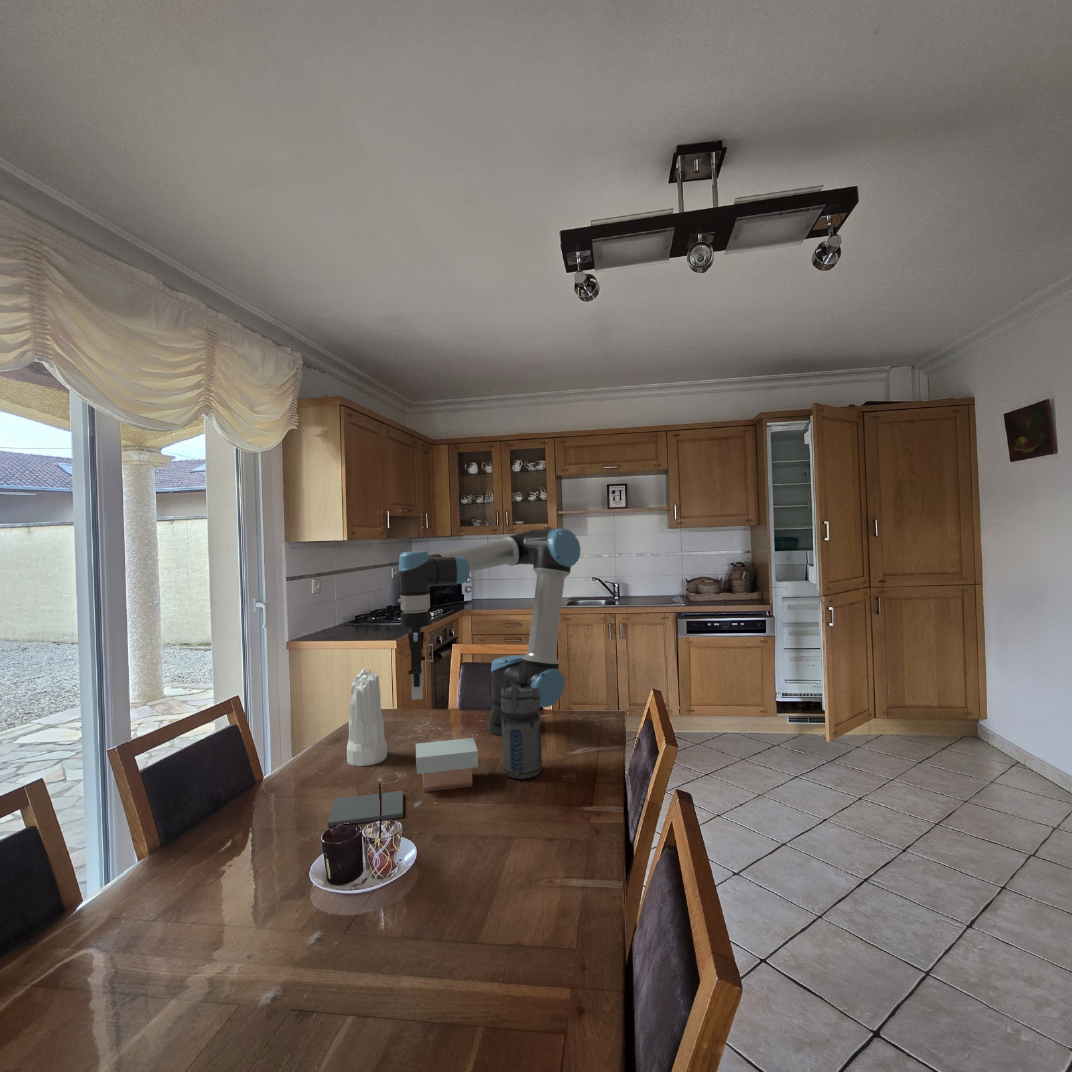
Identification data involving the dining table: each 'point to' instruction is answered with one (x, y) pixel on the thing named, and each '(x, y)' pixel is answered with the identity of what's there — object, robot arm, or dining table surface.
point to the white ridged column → (366, 722)
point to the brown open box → (447, 779)
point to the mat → (366, 808)
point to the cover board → (446, 755)
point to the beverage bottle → (521, 730)
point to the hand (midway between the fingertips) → (417, 692)
